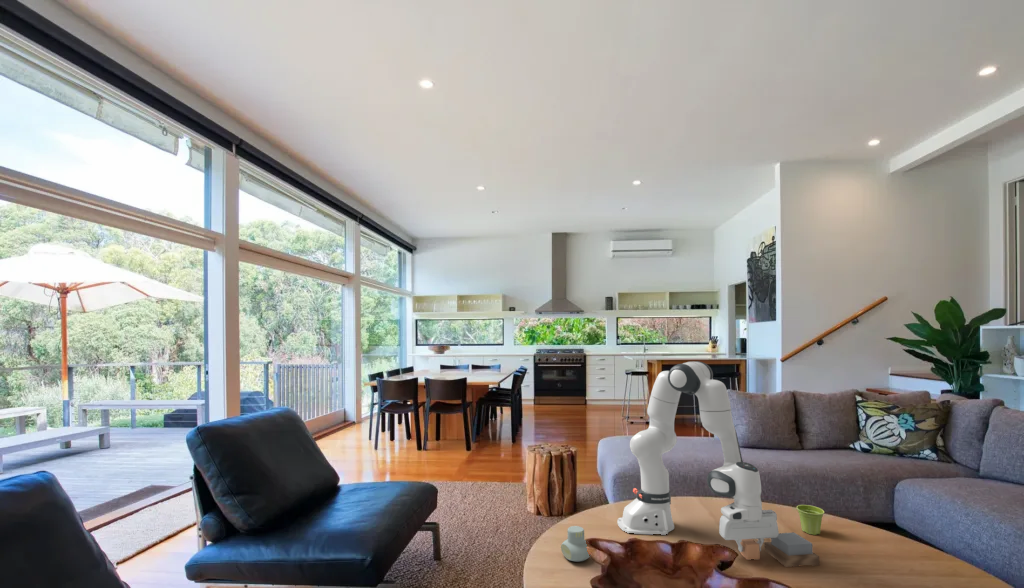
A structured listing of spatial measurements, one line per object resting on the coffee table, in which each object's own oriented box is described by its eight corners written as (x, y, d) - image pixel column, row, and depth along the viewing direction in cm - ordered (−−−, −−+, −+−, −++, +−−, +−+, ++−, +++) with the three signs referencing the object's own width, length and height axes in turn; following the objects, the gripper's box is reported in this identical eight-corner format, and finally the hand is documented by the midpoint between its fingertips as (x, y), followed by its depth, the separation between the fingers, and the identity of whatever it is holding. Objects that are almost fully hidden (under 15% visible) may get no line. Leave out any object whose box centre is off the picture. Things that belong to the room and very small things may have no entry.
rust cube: (747, 559, 170) (746, 545, 170) (740, 553, 175) (739, 539, 175) (759, 559, 170) (759, 544, 171) (752, 553, 175) (751, 538, 175)
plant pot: (823, 529, 194) (822, 506, 195) (827, 538, 186) (826, 515, 186) (796, 525, 198) (795, 503, 199) (798, 534, 190) (797, 511, 190)
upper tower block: (788, 555, 167) (788, 545, 167) (771, 543, 176) (770, 533, 176) (812, 553, 168) (812, 543, 168) (794, 542, 177) (793, 532, 177)
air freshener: (558, 553, 176) (558, 525, 177) (578, 549, 179) (577, 521, 180) (574, 567, 166) (573, 537, 167) (594, 562, 169) (594, 532, 170)
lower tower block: (785, 568, 165) (785, 557, 165) (764, 552, 177) (764, 542, 177) (819, 567, 166) (818, 556, 166) (796, 550, 178) (795, 540, 178)
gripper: (770, 506, 177) (772, 545, 177) (716, 508, 176) (717, 547, 175) (781, 512, 171) (783, 553, 170) (725, 515, 170) (726, 556, 169)
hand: (749, 550), depth 173 cm, fingers closed on rust cube, 4 cm apart
